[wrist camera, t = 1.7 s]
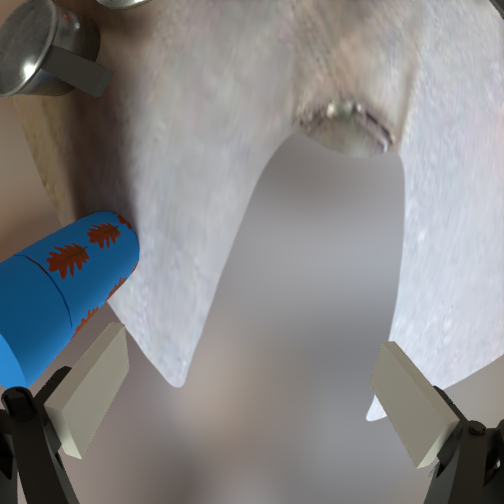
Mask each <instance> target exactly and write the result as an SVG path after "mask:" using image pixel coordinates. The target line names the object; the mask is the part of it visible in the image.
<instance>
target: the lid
mask: <svg viewBox="0 0 504 504" xmlns="http://www.w3.org/2000/svg"><path fill="white" fill-rule="evenodd" d="M97 1H98V2H99V3H100V4H102V5H103V6H105V7H107V8H109V9H113V10H126V9H131V8H135V7H138V6H141V5H143V4H145V3H148V2H149V1H151V0H97Z"/></svg>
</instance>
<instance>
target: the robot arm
mask: <svg viewBox="0 0 504 504" xmlns="http://www.w3.org/2000/svg"><path fill="white" fill-rule="evenodd" d="M489 1H490V2H491V3H492V5H493V6H494V7H495V8H496V9H497V10H498V12H499V13H500V15H501V17H502V18H503V20H504V0H489ZM128 371H129V361H128V353H127V344H126V335H125V324H119V323H113V322H111V323H110V324H109V325H108V326H107V327H106V328H105V330H104V331H103V332H102V333H101V334H100V335H99V337H98V338H97V339H96V340H95V341H94V342H93V344H92V345H91V346H90V347H89V349H88V350H87V351H86V352H85V353H84V354H83V356H82V357H81V358H80V359H79V361H78V362H77V363H76V364H75V365H74V367H73V368H71V367H67V366H64V367H63V368H61V369H59V370H57V371H56V372H55V373H54V374H53V375H52V377H51V378H50V379H49V380H48V381H47V382H46V385H44V386H43V387H42V389H41V390H40V391H39V392H38V393H37V394H36V396H35V397H34V398H33V396H32V394H31V392H30V391H29V390H28V389H27V388H25V387H22V386H15V387H11V388H9V389H7V390H6V391H4V393H3V394H2V397H1V401H2V403H3V405H4V407H5V410H3V409H0V504H18V501H17V500H18V498H17V473H18V472H19V476H20V480H21V484H22V488H23V491H24V495H25V498H26V501H27V504H79V501H78V499H77V497H76V495H75V493H74V490H73V488H72V486H71V483H70V481H69V478H68V476H67V474H66V471H65V468H64V466H63V463H62V460H61V457H60V455H59V453H58V450H59V448H60V446H61V445H62V447H63V449H64V451H65V453H66V454H68V455H71V456H74V457H76V458H79V459H83V457H84V455H85V453H86V451H87V449H88V447H89V445H90V443H91V441H92V439H93V437H94V435H95V433H96V431H97V429H98V427H99V425H100V423H101V421H102V419H103V418H104V416H105V414H106V412H107V410H108V408H109V406H110V404H111V402H112V400H113V398H114V397H115V395H116V393H117V391H118V389H119V387H120V385H121V384H122V382H123V380H124V378H125V376H126V375H127V373H128ZM369 384H370V386H371V387H372V389H373V391H374V393H375V395H376V396H377V398H378V400H379V402H380V403H381V405H382V407H383V409H384V411H385V412H386V414H387V416H388V418H389V419H390V421H391V423H392V425H393V427H394V428H395V430H396V432H397V434H398V436H399V437H400V439H401V441H402V443H403V445H404V446H405V449H406V450H407V452H408V454H409V456H410V458H411V460H412V461H413V464H414V465H415V467H416V469H417V468H420V467H424V466H427V465H430V464H431V463H432V461H433V460H434V458H435V457H436V456H437V457H438V459H439V460H440V461H439V462H438V463H437V465H436V466H435V467H434V469H433V470H432V471H431V472H430V474H429V477H430V476H431V475H432V474H433V473H434V474H433V478H432V481H431V484H430V487H429V490H428V493H427V496H426V499H425V501H424V504H504V419H503V420H501V421H500V423H499V424H498V426H497V427H496V428H487V429H486V427H485V426H484V425H483V424H482V423H480V422H478V421H473V420H471V421H468V420H467V419H466V418H465V417H464V415H463V414H462V413H461V412H460V410H459V409H458V408H457V407H456V405H455V404H453V402H452V401H451V399H449V397H448V396H447V395H446V393H445V392H444V391H443V390H441V389H440V388H438V387H437V386H432V385H431V384H430V382H429V381H428V380H427V379H426V378H425V376H424V375H423V374H422V373H421V372H420V370H419V369H418V368H417V367H416V366H415V365H414V363H413V362H412V361H411V360H410V359H409V357H408V356H407V355H406V354H405V353H404V352H403V350H402V349H401V348H400V347H399V346H398V345H397V344H396V342H395V341H393V342H383V343H382V346H381V349H380V352H379V355H378V358H377V362H376V364H375V367H374V371H373V373H372V376H371V379H370V382H369ZM499 460H500V466H499V467H497V463H498V461H499Z"/></svg>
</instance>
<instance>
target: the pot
mask: <svg viewBox="0 0 504 504" xmlns="http://www.w3.org/2000/svg"><path fill="white" fill-rule="evenodd" d="M99 47H100V33H99V30H98V27H97V25H96V24H95V23H94V22H93V21H92V20H90V19H88V18H86V17H84V16H81V15H79V14H77V13H75V12H73V11H71V10H68V9H66V8H64V7H62V6H59V5H57V4H56V3H55V2H54V0H26V1H25V2H23V3H22V4H21V5H19V6H18V7H17V8H16V9H15V10H14V11H13V12H12V13H11V14H10V15H9V16H8V18H7V19H6V20H5V22H4V23H3V24H2V26H1V28H0V97H10V96H13V95H15V94H25V95H44V96H61V95H64V94H67V93H69V92H70V91H72V90H73V89H75V88H78V89H80V90H82V91H84V92H85V93H87V94H89V95H91V96H94V97H101V96H102V94H103V92H104V90H105V88H106V86H107V85H108V83H109V81H110V79H111V77H112V76H113V74H114V71H112V70H110V69H108V68H106V67H104V66H102V65H100V64H98V63H95V60H96V58H97V55H98V52H99Z"/></svg>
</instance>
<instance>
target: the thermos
mask: <svg viewBox="0 0 504 504" xmlns="http://www.w3.org/2000/svg"><path fill="white" fill-rule="evenodd" d="M139 249H140V248H139V244H138V240H137V236H136V234H135V233H134V231H133V229H132V228H131V226H130V224H129V223H127V222H126V221H125V220H124V219H123V218H122V217H121V216H119V215H117V214H114V213H112V212H97V213H94V214H91V215H89V216H86V217H84V218H81V219H79V220H77V221H75V222H73V223H71V224H69V225H68V226H66V227H64V228H62V229H60V230H58V231H56V232H54V233H52V234H50V235H48V236H47V237H45V238H43V239H41V240H39V241H38V242H36V243H34V244H32V245H30V246H29V247H27V248H25V249H23V250H22V251H20V252H18V253H16V254H15V255H13V256H11V257H10V258H8V259H6V260H5V261H3V262H2V263H0V384H1V385H2V386H3V387H5V388H7V389H9V388H11V387H15V386H22V387H25V388H28V387H29V386H31V385H32V384H33V383H34V382H35V381H36V380H37V379H38V378H39V376H40V375H41V374H42V373H43V372H44V370H45V369H46V368H47V367H48V366H49V364H50V363H51V362H52V361H53V360H54V358H55V357H56V356H57V355H58V354H59V353H60V352H61V350H62V349H63V348H64V347H65V346H66V344H67V343H68V342H69V341H70V340H71V339H72V338H73V337H74V336H75V334H76V333H77V332H78V331H79V330H80V329H81V328H82V327H83V326H84V324H85V323H86V322H87V321H88V320H89V319H90V318H91V317H92V316H93V315H94V313H95V312H96V311H97V310H98V309H99V308H100V307H101V306H102V305H103V304H104V303H105V302H106V301H107V300H108V299H109V298H110V297H111V296H112V294H113V293H114V292H115V291H116V290H117V289H118V288H119V287H120V286H121V285H122V284H123V283H124V282H125V281H126V280H127V278H128V277H129V276H130V275H131V274H132V272H133V271H134V270H135V268H136V266H137V263H138V261H139Z"/></svg>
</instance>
